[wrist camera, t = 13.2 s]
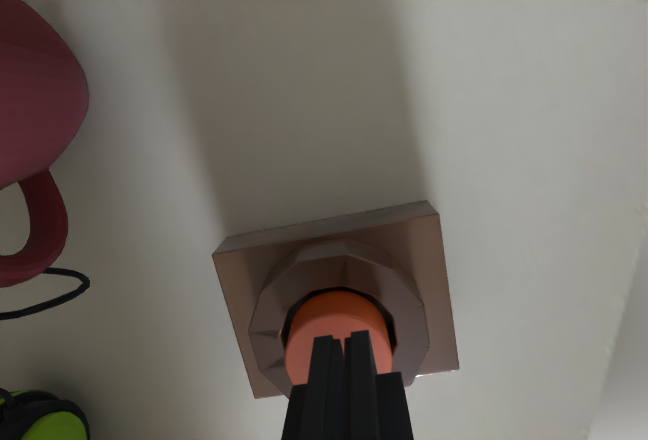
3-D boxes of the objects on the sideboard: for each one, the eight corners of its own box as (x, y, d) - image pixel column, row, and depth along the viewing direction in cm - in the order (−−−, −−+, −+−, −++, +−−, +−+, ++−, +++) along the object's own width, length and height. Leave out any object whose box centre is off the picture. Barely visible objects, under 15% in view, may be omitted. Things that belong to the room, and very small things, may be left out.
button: (378, 282, 14) (382, 306, 13) (393, 367, 15) (400, 399, 14) (280, 298, 15) (272, 323, 13) (301, 380, 16) (297, 413, 14)
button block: (427, 199, 17) (451, 227, 13) (447, 341, 19) (473, 401, 15) (226, 236, 18) (194, 272, 14) (263, 368, 20) (244, 431, 16)
